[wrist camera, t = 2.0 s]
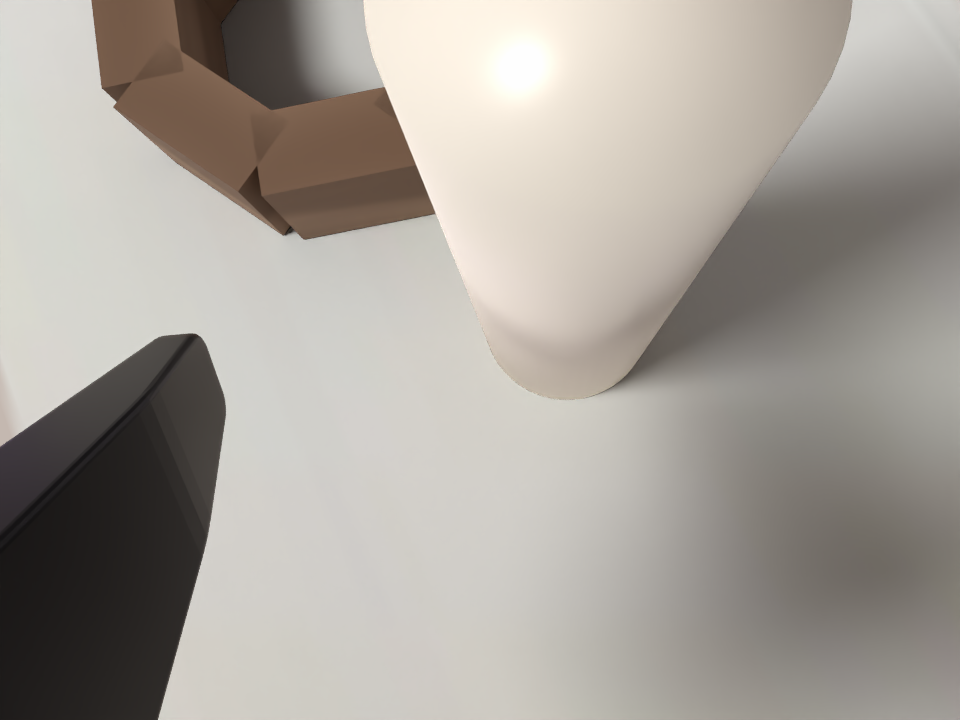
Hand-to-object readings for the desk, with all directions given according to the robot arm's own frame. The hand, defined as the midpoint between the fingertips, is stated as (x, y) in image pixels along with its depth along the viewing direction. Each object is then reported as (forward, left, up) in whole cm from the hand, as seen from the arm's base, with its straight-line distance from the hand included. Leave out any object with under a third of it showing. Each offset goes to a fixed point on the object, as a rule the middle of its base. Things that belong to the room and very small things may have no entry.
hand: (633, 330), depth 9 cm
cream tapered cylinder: (+2, +2, -10) cm, 10 cm away
